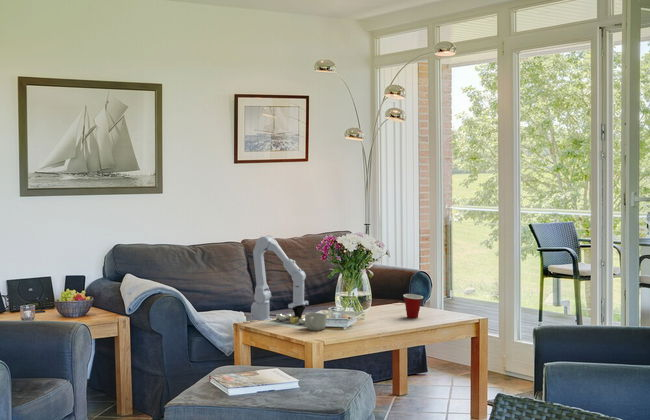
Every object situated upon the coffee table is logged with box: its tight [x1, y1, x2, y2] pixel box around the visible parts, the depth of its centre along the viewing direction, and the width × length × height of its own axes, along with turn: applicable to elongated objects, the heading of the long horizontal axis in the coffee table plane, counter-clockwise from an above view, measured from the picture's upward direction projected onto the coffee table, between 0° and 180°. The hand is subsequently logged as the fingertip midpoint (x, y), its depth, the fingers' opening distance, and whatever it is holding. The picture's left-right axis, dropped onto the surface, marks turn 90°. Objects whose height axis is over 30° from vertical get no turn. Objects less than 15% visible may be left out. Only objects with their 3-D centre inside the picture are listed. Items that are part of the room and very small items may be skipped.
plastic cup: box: [403, 293, 424, 319], centre depth 461 cm, size 11×11×12 cm
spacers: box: [275, 312, 305, 325], centre depth 442 cm, size 24×13×3 cm, turn 53°
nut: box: [289, 316, 299, 323], centre depth 439 cm, size 5×4×3 cm
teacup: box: [304, 312, 328, 332], centre depth 422 cm, size 14×11×8 cm
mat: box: [262, 319, 307, 330], centre depth 438 cm, size 24×20×1 cm
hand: (298, 320), depth 442 cm, fingers closed
